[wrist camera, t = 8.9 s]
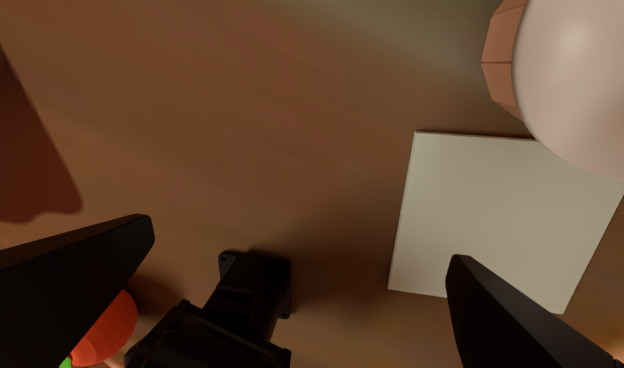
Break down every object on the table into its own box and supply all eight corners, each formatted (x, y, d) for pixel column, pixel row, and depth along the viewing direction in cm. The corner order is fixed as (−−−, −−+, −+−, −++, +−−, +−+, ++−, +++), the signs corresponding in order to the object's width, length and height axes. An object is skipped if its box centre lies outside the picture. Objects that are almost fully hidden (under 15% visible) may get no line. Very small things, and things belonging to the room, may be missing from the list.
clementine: (155, 334, 32) (102, 403, 26) (97, 317, 33) (31, 381, 26) (151, 279, 29) (89, 342, 22) (87, 262, 29) (9, 318, 23)
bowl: (626, 128, 17) (749, 159, 12) (466, 118, 18) (509, 142, 13) (715, -61, 14) (950, -143, 8) (509, -58, 15) (595, -128, 9)
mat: (557, 308, 23) (562, 314, 22) (387, 284, 24) (388, 289, 24) (637, 146, 17) (646, 149, 17) (414, 130, 19) (416, 132, 19)
